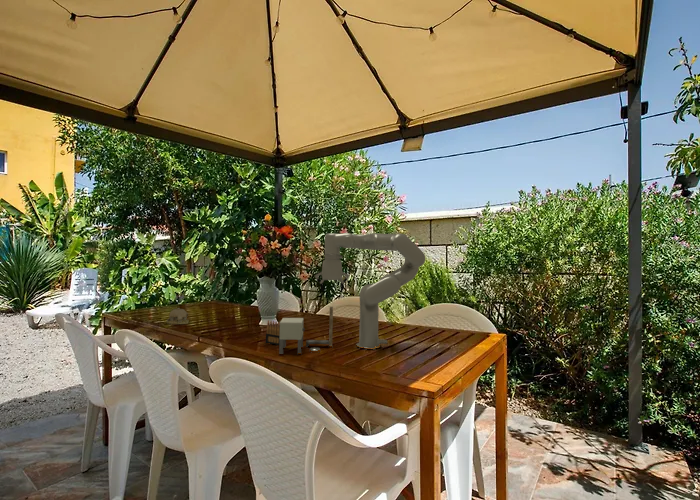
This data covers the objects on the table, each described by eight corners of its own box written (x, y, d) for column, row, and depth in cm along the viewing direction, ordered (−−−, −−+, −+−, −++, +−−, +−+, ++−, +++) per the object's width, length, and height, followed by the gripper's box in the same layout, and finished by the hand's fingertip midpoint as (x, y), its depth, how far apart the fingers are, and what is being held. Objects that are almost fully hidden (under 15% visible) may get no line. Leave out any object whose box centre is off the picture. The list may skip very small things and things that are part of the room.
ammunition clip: (265, 343, 196) (265, 320, 196) (267, 342, 197) (268, 319, 197) (281, 346, 190) (281, 322, 190) (283, 345, 192) (284, 321, 192)
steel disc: (320, 350, 184) (320, 347, 184) (319, 353, 179) (319, 350, 179) (309, 350, 183) (310, 347, 184) (309, 353, 178) (309, 350, 179)
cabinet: (304, 348, 187) (305, 318, 187) (303, 354, 174) (303, 322, 175) (282, 347, 187) (283, 317, 187) (279, 354, 174) (279, 322, 174)
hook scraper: (332, 345, 193) (332, 306, 193) (332, 348, 188) (332, 307, 188) (306, 345, 192) (307, 306, 193) (305, 347, 187) (306, 307, 188)
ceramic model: (191, 321, 255) (192, 306, 256) (186, 324, 244) (186, 309, 244) (170, 321, 254) (170, 306, 254) (163, 324, 243) (163, 309, 243)
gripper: (348, 257, 196) (348, 290, 195) (315, 257, 195) (315, 291, 194) (349, 257, 188) (349, 292, 188) (314, 257, 187) (314, 292, 187)
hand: (332, 291), depth 191 cm, fingers open, 9 cm apart
